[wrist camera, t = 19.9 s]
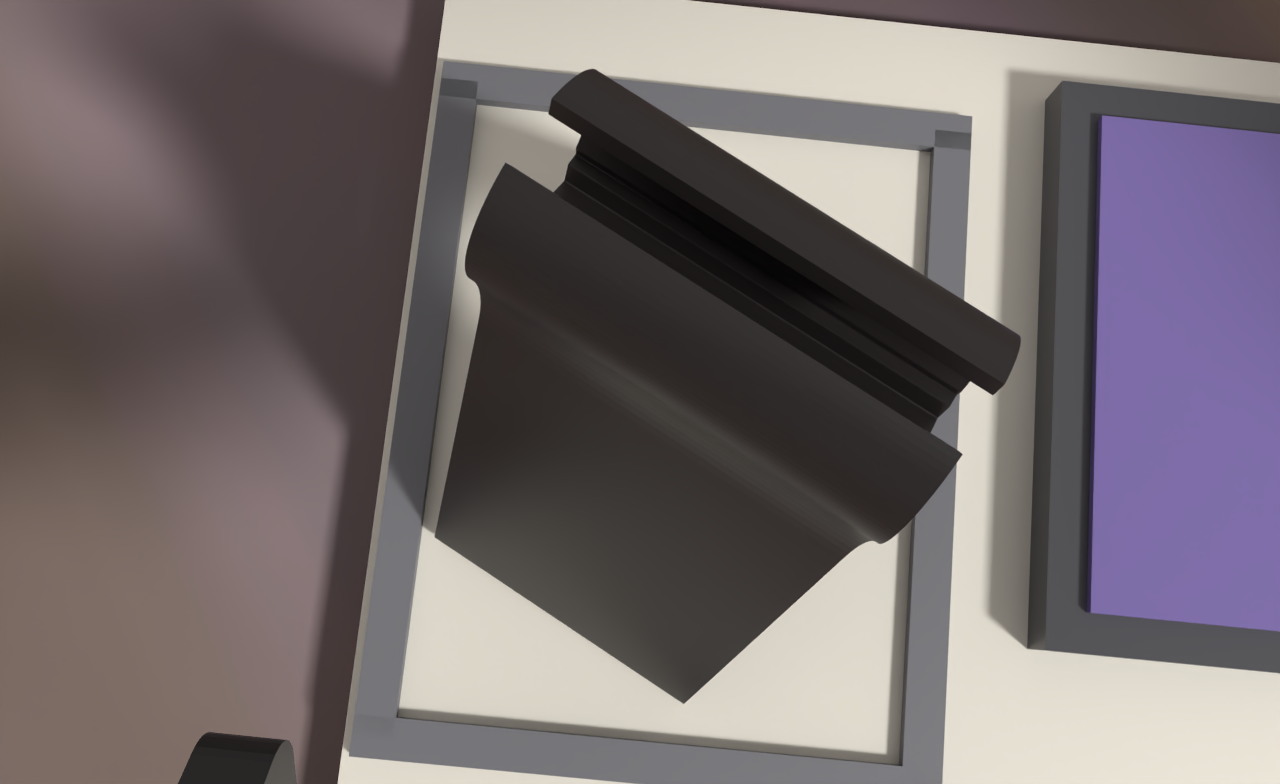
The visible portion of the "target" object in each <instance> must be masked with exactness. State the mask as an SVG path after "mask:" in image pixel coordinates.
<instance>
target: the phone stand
mask: <svg viewBox="0 0 1280 784" xmlns="http://www.w3.org/2000/svg"><path fill="white" fill-rule="evenodd" d="M548 114H549V115H550V116H552V117H553V118H555V119H556V120H558V121H560V122H561V123H563V124H564V125H566V126H568V127H569V128H571V129H572V130H574V131H575V132H577V133H579V134H580V135H581V137H580V139H579V142H578V144H577V146H576V154H575V156H574V157H573V158H572V160H571V161H570V162H569V164H568V167H567V171H566V176H565V180H564V182H563V183H562V184H561V185H560V186H559V187H558V188H557V189H556V190H555V191H554V192H552V191H551V190H549V189H548V188H546V187H544V186H543V185H541V184H540V183H538V182H537V181H535V180H533V179H532V178H530V177H529V176H527V175H526V174H524V173H522V172H521V171H519V170H518V169H516V168H515V167H513V166H511V165H509V164H507V163H505V164H504V166H503V167H502V169H501V171H500V173H499V174H498V176H497V178H496V180H495V182H494V183H493V185H492V187H491V189H490V191H489V193H488V195H487V197H486V199H485V201H484V204H483V206H482V208H481V210H480V212H479V215H478V217H477V220H476V222H475V225H474V227H473V230H472V233H471V236H470V239H469V243H468V247H467V251H466V256H465V272H466V275H467V277H468V278H469V279H471V280H472V281H474V282H475V283H476V285H477V286H478V289H479V292H480V300H481V304H480V314H479V320H478V325H477V330H476V335H475V340H474V345H473V350H472V355H471V360H470V364H469V369H468V374H467V379H466V384H465V389H464V394H463V399H462V404H461V409H460V414H459V419H458V424H457V428H456V433H455V438H454V443H453V448H452V453H451V458H450V463H449V468H448V473H447V478H446V483H445V487H444V492H443V497H442V502H441V507H440V512H439V517H438V522H437V527H436V532H435V538H436V539H438V540H439V541H441V542H442V543H444V544H445V545H447V546H448V547H450V548H451V549H453V550H454V551H456V552H457V553H459V554H460V555H462V556H463V557H465V558H466V559H467V560H469V561H470V562H472V563H473V564H475V565H476V566H478V567H479V568H481V569H482V570H484V571H485V572H487V573H488V574H490V575H491V576H493V577H494V578H496V579H497V580H499V581H500V582H502V583H503V584H505V585H506V586H508V587H509V588H511V589H512V590H514V591H515V592H517V593H518V594H520V595H521V596H523V597H524V598H526V599H527V600H529V601H530V602H532V603H533V604H535V605H536V606H538V607H539V608H541V609H542V610H544V611H545V612H547V613H548V614H550V615H551V616H553V617H554V618H556V619H557V620H559V621H560V622H562V623H563V624H565V625H566V626H568V627H569V628H571V629H572V630H574V631H575V632H577V633H578V634H580V635H581V636H583V637H584V638H586V639H587V640H589V641H590V642H592V643H593V644H595V645H596V646H598V647H599V648H600V649H602V650H603V651H605V652H606V653H608V654H609V655H611V656H612V657H614V658H615V659H617V660H618V661H620V662H621V663H623V664H624V665H626V666H627V667H629V668H630V669H632V670H633V671H635V672H636V673H638V674H639V675H641V676H642V677H644V678H645V679H647V680H648V681H650V682H651V683H653V684H654V685H656V686H657V687H659V688H660V689H662V690H663V691H665V692H666V693H668V694H669V695H671V696H672V697H674V698H675V699H677V700H678V701H680V702H681V703H683V704H685V703H686V702H687V701H688V700H689V699H690V698H691V697H692V696H693V695H694V694H696V693H697V692H698V691H699V690H700V689H701V688H702V687H703V686H704V685H705V684H706V683H708V682H709V681H710V680H711V679H712V678H713V677H714V676H715V675H716V674H717V673H719V672H720V671H721V670H722V669H723V668H724V667H725V666H726V665H727V664H728V663H729V662H731V661H732V660H733V659H734V658H735V657H736V656H737V655H738V654H739V653H740V652H742V651H743V650H744V649H745V648H746V647H747V646H748V645H749V644H750V643H751V642H752V641H754V640H755V639H756V638H757V637H758V636H759V635H760V634H761V633H762V632H763V631H765V630H766V629H767V628H768V627H769V626H770V625H771V624H772V623H773V622H774V621H775V620H777V619H778V618H779V617H780V616H781V615H782V614H783V613H784V612H785V611H786V610H788V609H789V608H790V607H791V606H792V605H793V604H794V603H795V602H796V601H797V600H798V599H800V598H801V597H802V596H803V595H804V594H805V593H806V592H807V591H808V590H809V589H811V588H812V587H813V586H814V585H815V584H816V583H817V582H818V581H819V580H820V579H821V578H823V577H824V576H825V575H826V574H827V573H828V572H829V571H830V570H831V569H832V568H833V567H835V566H836V565H837V564H838V563H839V562H840V561H841V560H842V559H843V558H844V557H846V556H847V555H848V554H849V553H850V552H852V551H853V550H854V549H855V548H857V547H858V546H860V545H862V544H864V543H866V542H869V541H875V542H876V543H878V544H883V543H885V542H887V541H889V540H890V539H892V538H893V537H894V536H895V535H896V534H898V533H899V532H900V531H901V530H902V529H903V528H904V527H905V526H906V525H907V524H908V523H909V522H910V521H911V520H912V519H913V518H914V517H915V515H916V514H917V513H918V512H919V511H920V510H921V509H922V508H923V506H924V505H925V504H926V503H927V502H928V500H929V499H930V498H931V497H932V495H933V494H934V493H935V492H936V490H937V489H938V488H939V486H940V485H941V484H942V483H943V481H944V480H945V479H946V477H947V476H948V474H949V473H950V472H951V470H952V469H953V468H954V466H955V465H956V463H957V462H958V461H959V459H960V458H961V456H962V455H963V454H962V453H961V452H960V451H958V450H957V449H955V448H953V447H952V446H950V445H949V444H947V443H946V442H944V441H942V440H941V439H939V438H938V437H936V436H935V435H933V434H931V431H932V429H933V427H934V425H935V423H936V421H937V419H938V417H939V416H941V415H942V414H943V413H944V412H945V411H946V410H947V409H948V408H949V407H950V406H951V404H952V402H953V401H954V399H955V397H956V396H957V395H958V394H959V393H961V392H962V391H963V389H964V388H965V387H966V386H967V385H968V383H969V382H970V381H971V382H972V383H974V384H975V385H977V386H979V387H980V388H982V389H983V390H985V391H986V392H988V393H990V394H991V395H994V394H995V393H996V392H997V391H998V390H999V389H1001V388H1002V387H1003V386H1004V385H1005V383H1006V381H1007V379H1008V377H1009V375H1010V373H1011V371H1012V368H1013V366H1014V364H1015V361H1016V359H1017V356H1018V353H1019V349H1020V344H1021V337H1020V335H1018V334H1017V333H1015V332H1014V331H1012V330H1010V329H1009V328H1007V327H1006V326H1004V325H1002V324H1001V323H999V322H998V321H996V320H995V319H993V318H991V317H990V316H988V315H987V314H985V313H983V312H982V311H980V310H979V309H977V308H975V307H974V306H972V305H971V304H969V303H967V302H966V301H964V300H963V299H961V298H959V297H958V296H956V295H955V294H953V293H951V292H950V291H948V290H947V289H945V288H943V287H942V286H940V285H939V284H937V283H936V282H934V281H932V280H931V279H929V278H928V277H926V276H924V275H923V274H921V273H920V272H918V271H916V270H915V269H913V268H912V267H910V266H908V265H907V264H905V263H904V262H902V261H900V260H899V259H897V258H896V257H894V256H892V255H891V254H889V253H888V252H886V251H885V250H883V249H881V248H880V247H878V246H877V245H875V244H873V243H872V242H870V241H869V240H867V239H865V238H864V237H862V236H861V235H859V234H857V233H856V232H854V231H853V230H851V229H849V228H848V227H846V226H845V225H843V224H841V223H840V222H838V221H837V220H835V219H833V218H832V217H830V216H829V215H827V214H826V213H824V212H822V211H821V210H819V209H818V208H816V207H814V206H813V205H811V204H810V203H808V202H806V201H805V200H803V199H802V198H800V197H798V196H797V195H795V194H794V193H792V192H790V191H789V190H787V189H786V188H784V187H782V186H781V185H779V184H778V183H776V182H774V181H773V180H771V179H770V178H768V177H767V176H765V175H763V174H762V173H760V172H759V171H757V170H755V169H754V168H752V167H751V166H749V165H747V164H746V163H744V162H743V161H741V160H739V159H738V158H736V157H735V156H733V155H731V154H730V153H728V152H727V151H725V150H723V149H722V148H720V147H719V146H717V145H715V144H714V143H712V142H711V141H709V140H708V139H706V138H704V137H703V136H701V135H700V134H698V133H696V132H695V131H693V130H692V129H690V128H688V127H687V126H685V125H684V124H682V123H680V122H679V121H677V120H676V119H674V118H672V117H671V116H669V115H668V114H666V113H664V112H663V111H661V110H660V109H658V108H656V107H655V106H653V105H652V104H650V103H649V102H647V101H645V100H644V99H642V98H641V97H639V96H637V95H636V94H634V93H633V92H631V91H629V90H628V89H626V88H625V87H623V86H621V85H620V84H618V83H617V82H615V81H613V80H612V79H610V78H609V77H607V76H605V75H604V74H602V73H601V72H599V71H597V70H596V69H588V70H585V71H583V72H581V73H579V74H578V75H576V76H575V77H574V78H572V79H571V80H570V81H569V82H567V83H566V84H565V85H564V86H563V87H562V88H561V89H560V90H559V91H558V92H557V93H556V94H555V95H554V96H553V97H552V99H551V104H550V108H549V113H548Z"/></svg>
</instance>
